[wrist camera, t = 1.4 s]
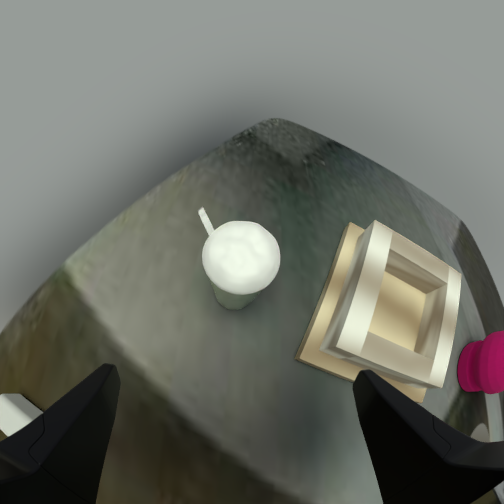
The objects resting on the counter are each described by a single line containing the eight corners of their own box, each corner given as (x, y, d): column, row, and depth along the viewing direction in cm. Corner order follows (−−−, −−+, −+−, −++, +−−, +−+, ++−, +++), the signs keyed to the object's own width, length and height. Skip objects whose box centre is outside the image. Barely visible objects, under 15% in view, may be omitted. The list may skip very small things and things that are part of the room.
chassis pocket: (412, 402, 20) (445, 404, 16) (294, 358, 21) (313, 356, 17) (440, 283, 26) (468, 268, 21) (344, 229, 27) (365, 203, 23)
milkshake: (222, 251, 25) (226, 183, 15) (270, 288, 24) (303, 236, 15) (189, 289, 23) (171, 237, 14) (238, 328, 22) (253, 302, 13)
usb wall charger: (22, 393, 16) (-2, 393, 12) (74, 430, 16) (52, 438, 12) (18, 424, 14) (-5, 427, 11) (68, 461, 14) (48, 472, 11)
